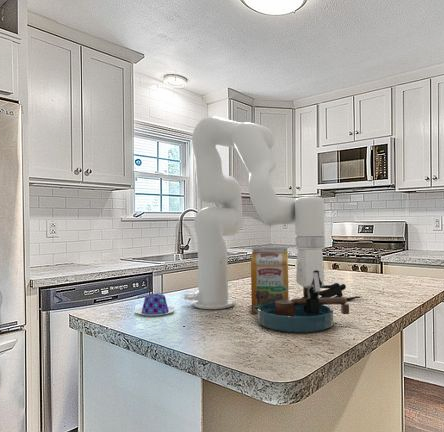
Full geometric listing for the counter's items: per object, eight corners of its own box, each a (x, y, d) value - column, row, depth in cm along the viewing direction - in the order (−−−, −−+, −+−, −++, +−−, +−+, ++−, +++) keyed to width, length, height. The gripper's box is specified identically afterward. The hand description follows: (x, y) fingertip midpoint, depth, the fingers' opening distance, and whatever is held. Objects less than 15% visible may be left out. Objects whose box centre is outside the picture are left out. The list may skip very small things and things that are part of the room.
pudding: (152, 319, 115) (152, 300, 115) (126, 313, 124) (126, 295, 124) (183, 312, 124) (183, 294, 124) (157, 306, 132) (157, 290, 132)
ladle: (277, 317, 106) (277, 301, 106) (273, 313, 111) (273, 297, 111) (351, 315, 107) (351, 299, 107) (344, 311, 112) (344, 295, 112)
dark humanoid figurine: (316, 286, 124) (360, 273, 140) (294, 292, 131) (338, 278, 147) (325, 313, 123) (367, 297, 139) (302, 317, 129) (345, 301, 145)
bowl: (265, 334, 99) (265, 318, 99) (253, 315, 118) (252, 301, 118) (344, 332, 99) (344, 316, 99) (319, 314, 119) (318, 300, 119)
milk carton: (288, 306, 130) (287, 246, 130) (288, 314, 119) (287, 248, 119) (255, 305, 132) (254, 246, 132) (251, 313, 121) (250, 248, 122)
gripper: (288, 241, 117) (290, 307, 117) (304, 245, 101) (305, 320, 101) (315, 241, 117) (316, 306, 117) (334, 244, 101) (335, 319, 101)
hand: (311, 312), depth 109 cm, fingers closed on ladle
